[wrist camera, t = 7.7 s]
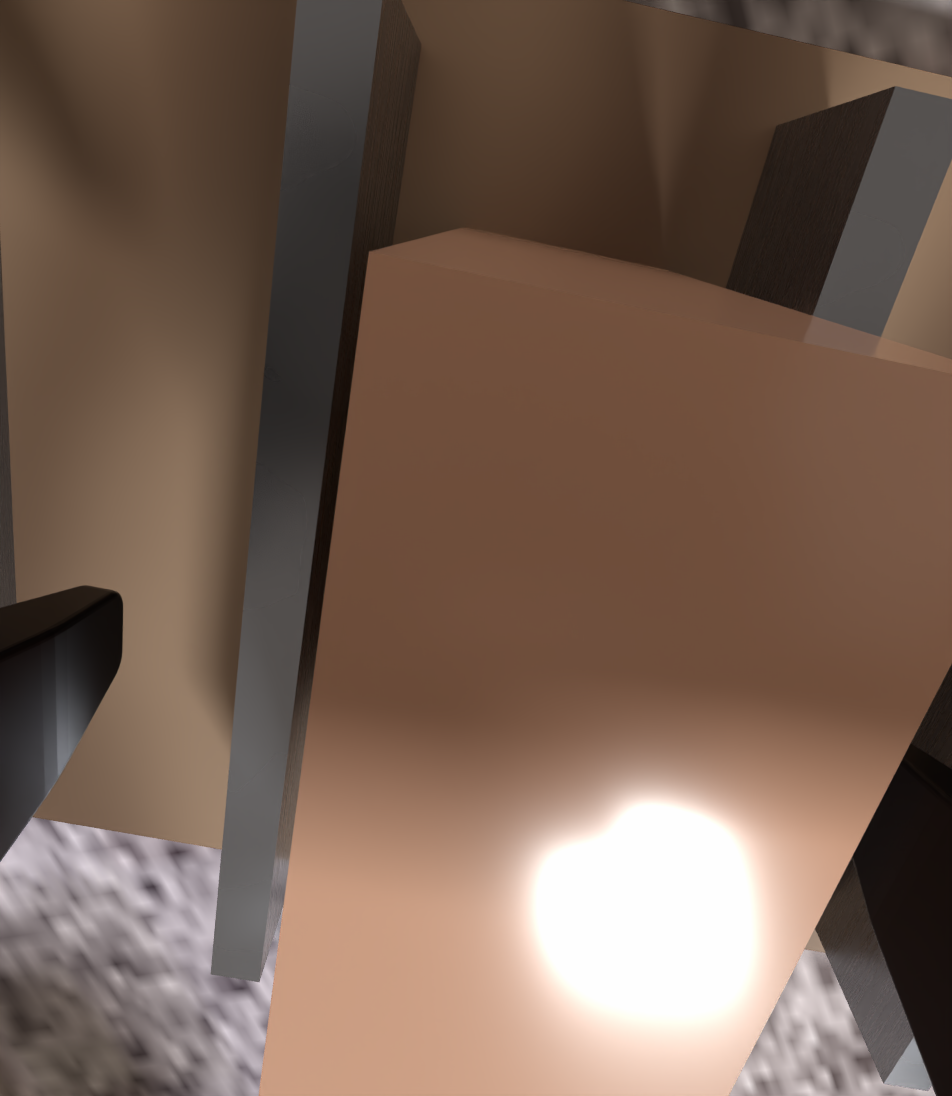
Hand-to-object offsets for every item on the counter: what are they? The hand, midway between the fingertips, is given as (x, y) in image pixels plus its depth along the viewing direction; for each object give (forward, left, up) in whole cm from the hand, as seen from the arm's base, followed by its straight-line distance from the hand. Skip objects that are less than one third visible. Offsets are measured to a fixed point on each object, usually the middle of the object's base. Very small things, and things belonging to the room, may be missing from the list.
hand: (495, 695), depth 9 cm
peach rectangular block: (0, 0, -4) cm, 5 cm away
